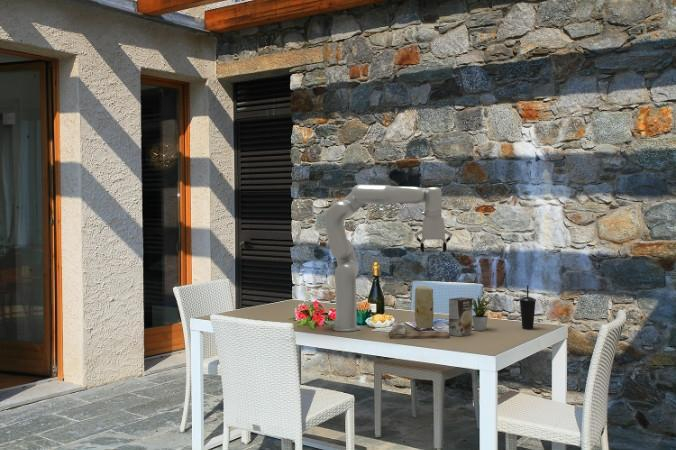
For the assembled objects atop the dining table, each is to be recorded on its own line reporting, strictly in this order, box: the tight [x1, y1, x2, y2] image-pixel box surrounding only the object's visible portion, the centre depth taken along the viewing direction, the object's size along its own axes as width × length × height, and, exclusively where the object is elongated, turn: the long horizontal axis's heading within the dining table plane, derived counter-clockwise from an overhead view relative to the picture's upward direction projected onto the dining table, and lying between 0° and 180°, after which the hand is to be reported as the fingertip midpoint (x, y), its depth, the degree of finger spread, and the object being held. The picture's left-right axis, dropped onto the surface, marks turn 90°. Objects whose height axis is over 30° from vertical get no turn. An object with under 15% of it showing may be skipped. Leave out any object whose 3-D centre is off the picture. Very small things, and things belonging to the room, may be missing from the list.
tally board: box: [388, 330, 451, 340], centre depth 324 cm, size 26×10×1 cm, turn 89°
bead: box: [391, 322, 406, 334], centre depth 324 cm, size 5×6×4 cm
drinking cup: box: [518, 285, 537, 330], centre depth 340 cm, size 8×8×20 cm
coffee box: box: [448, 297, 473, 337], centre depth 328 cm, size 9×6×16 cm
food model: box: [414, 285, 434, 329], centre depth 342 cm, size 10×7×20 cm
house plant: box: [470, 294, 494, 332], centre depth 338 cm, size 14×14×16 cm
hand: (433, 252), depth 335 cm, fingers open, 9 cm apart
